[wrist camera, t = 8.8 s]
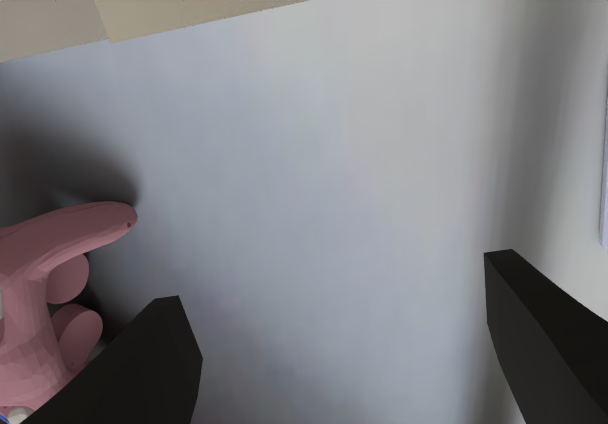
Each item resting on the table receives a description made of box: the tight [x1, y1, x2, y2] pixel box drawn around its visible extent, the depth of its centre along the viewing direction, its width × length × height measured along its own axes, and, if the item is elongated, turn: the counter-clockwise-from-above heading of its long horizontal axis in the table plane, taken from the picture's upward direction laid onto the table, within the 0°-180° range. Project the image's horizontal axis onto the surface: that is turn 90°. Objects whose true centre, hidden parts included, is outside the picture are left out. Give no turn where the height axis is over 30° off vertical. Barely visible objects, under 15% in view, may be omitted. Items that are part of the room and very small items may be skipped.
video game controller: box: [0, 201, 138, 424], centre depth 22 cm, size 10×5×7 cm, turn 0°
